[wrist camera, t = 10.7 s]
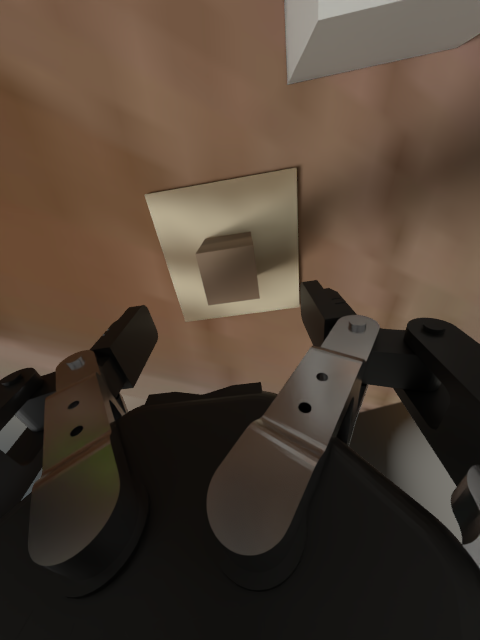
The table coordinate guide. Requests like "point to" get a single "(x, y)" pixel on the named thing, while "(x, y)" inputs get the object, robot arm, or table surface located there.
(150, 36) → the table surface
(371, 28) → the off-white box
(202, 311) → the oak lid
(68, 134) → the table surface
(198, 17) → the table surface
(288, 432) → the robot arm
